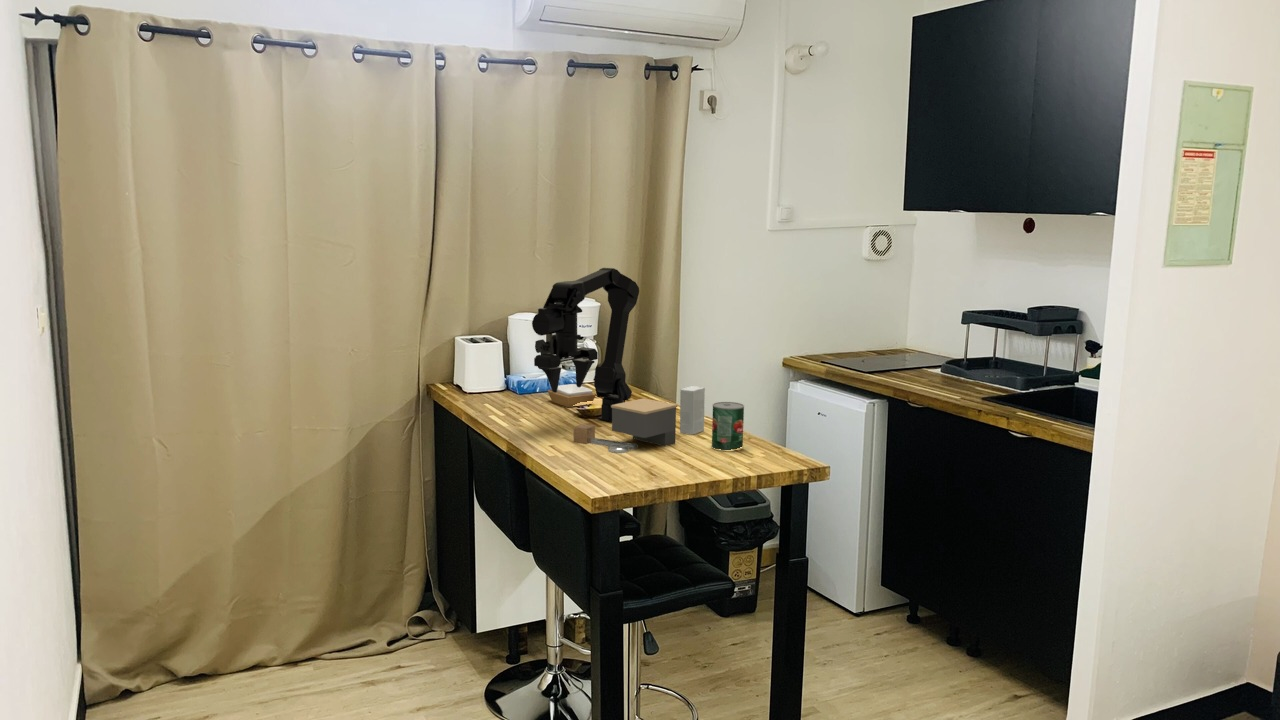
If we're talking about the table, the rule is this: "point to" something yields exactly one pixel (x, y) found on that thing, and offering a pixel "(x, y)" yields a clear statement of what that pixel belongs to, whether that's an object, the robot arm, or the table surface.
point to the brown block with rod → (587, 435)
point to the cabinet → (646, 420)
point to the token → (618, 448)
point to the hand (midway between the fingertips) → (566, 389)
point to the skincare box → (692, 410)
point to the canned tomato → (727, 425)
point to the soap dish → (571, 395)
